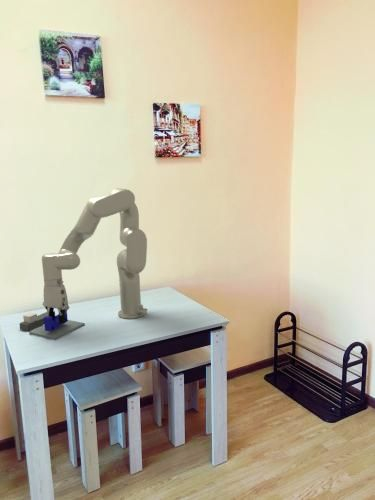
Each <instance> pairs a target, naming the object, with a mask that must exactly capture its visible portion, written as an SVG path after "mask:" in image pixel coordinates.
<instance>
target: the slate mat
mask: <svg viewBox="0 0 375 500" xmlns="http://www.w3.org/2000/svg"><path fill="white" fill-rule="evenodd" d="M85 325H86V324H85V322H82V321H76V320H71V319H68V321H67V322H66V323H64V324H63V325H61V326H59V327H58V328H56V329H54V330H53V331H45V324H44V325H42V326H39V327H37V328H35V329H33V330H30V331H28V333H29V334H28V335H31V336H36V337H39V338H45V339H48V340H53V341H56V340H59V339H60V338H62V337H64V336H65V335H68V334H70V333H72V332H74V331H76V330H79V328H82V327H83V326H85Z"/></svg>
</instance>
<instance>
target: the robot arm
mask: <svg viewBox="0 0 375 500" xmlns="http://www.w3.org/2000/svg"><path fill="white" fill-rule="evenodd" d="M135 202H136V197H135V194H134V192H133V191H131V190H130V189H126V188H114V189H112V190H111V191H110V192H109V194H108V195H106V196H101V197H98V196H93V197H91V198H89V199H88V201H86V203H85V206H84V208H83V209H82V211H81V213H80V216H79V218H78V220H77V221H76V224H75V225H74V226H73V228H72V230H71V231H70V232H69V233H68V235H67V236H66V238H65V239H64V241H63V243H62V244H61V246H60V250H59V251H58V253H56V252H49V253H46V254H45V253H44V254H43V255H42V256H41V265H42V275H43V284H44V285H43V302H42V306H43V307H44V308H45V310H46V312H47V313H48V314H49V316H50V317H52V319H54V317H55V316H56V311H54V310H55V309H56V310H57V312H58V314H59V315H58V314H57V315H58V317H59V324H62V323H64V322H65V313H66V311H67V312H68V310H70V306H69V302H68V301H69V300H68V294H67V290H66V286H65V284H64V281H63V274H62V273H63V271H64V270H66V271H67V270H69V271H70V270H75V269H77V268H78V267H79V266H80V264H81V258H80V256H79V255H78V252H79V249H80V248H81V246H82V245H83V243H84V242H85V241H87V240H88V239H91V237H92V236H94V234H95V232H96V230H97V227H98V226H99V224H100V222H101V219H102V218H107V217H110V216H113V215H116V214H119V217H120V219H119V220H120V222H119V223H120V225H119V242H120V243H121V245H123V246H125V247H126V249H122V250H121V251H119V253H118V254H117V256H116V267H117V272H118V281H119V294H120V297H119V298H120V310H119V311H118V313H117V316H118V317H120V318H121V319H127V320H128V319H129V320H133V319H137V318H141V317H143V316H144V315H147V313H148V308H145V307H144V305H143V304H142V302H141V300H142V299H141V298H142V297H141V279H140V273H142V271H144V269H145V268H146V264H147V254H148V253H147V251H148V239H147V234H146V233H145V232H144V231H143V230H142V229H141V228H140V212H139V209H138V206H137V204H136V203H135ZM62 270H63V271H62ZM61 309H62V311H61Z"/></svg>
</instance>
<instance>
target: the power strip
mask: <svg viewBox="0 0 375 500" xmlns="http://www.w3.org/2000/svg"><path fill="white" fill-rule="evenodd" d="M37 314H38V313H34V312H28V313H26V314H23V315H22V317H23V321H21V322H19V330H20V331H25V332H30V331H33V330H35V329H37V328H39V327H41V326H44V325H45V324H44V317H45V316H49V314H48V313H47V311H46V312H44V313H40V314H39V315H37Z"/></svg>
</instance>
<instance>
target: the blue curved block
mask: <svg viewBox="0 0 375 500" xmlns="http://www.w3.org/2000/svg"><path fill="white" fill-rule="evenodd" d="M61 311H62V309H61ZM58 315H59V313H58V314H55V317H54V319H52V317H50V316H45V317H44V325H45V331H53V330H54V329H56V328H58V327H59V326H61V325H63V324H64V323H66V322H67V321H68V320H69V318H68V310H67V311H66V313H65V322H64V323H62V324H59V317H58Z"/></svg>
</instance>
